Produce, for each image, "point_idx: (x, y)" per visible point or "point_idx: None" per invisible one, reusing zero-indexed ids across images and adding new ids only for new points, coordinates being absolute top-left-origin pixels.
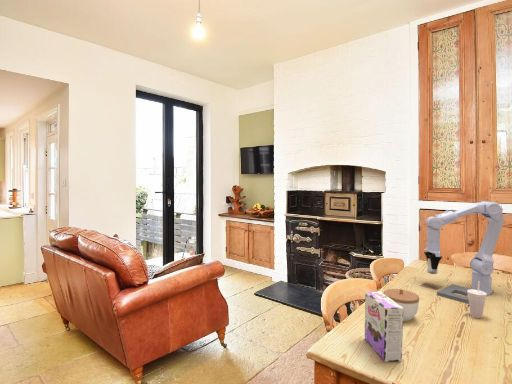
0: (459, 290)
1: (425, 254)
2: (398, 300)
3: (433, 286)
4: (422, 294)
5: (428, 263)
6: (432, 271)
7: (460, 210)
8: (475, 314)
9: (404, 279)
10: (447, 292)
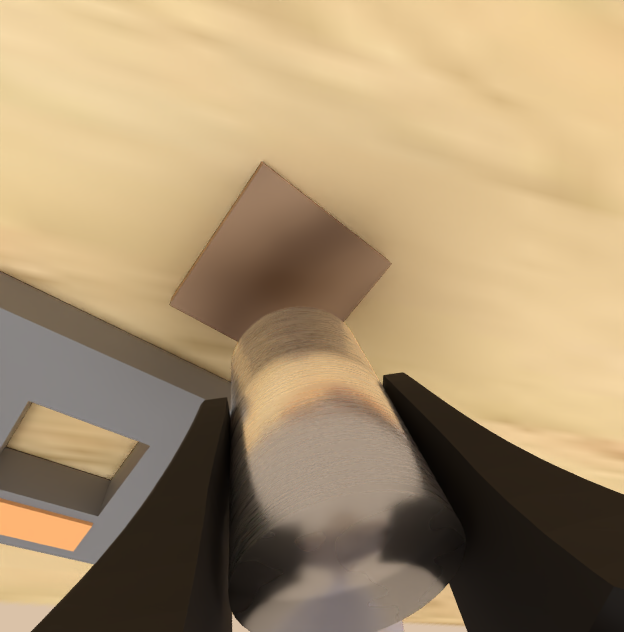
0: (146, 469)
1: (605, 533)
2: None
3: (280, 302)
4: (11, 137)
5: (287, 413)
6: (231, 379)
7: None
8: None
9: (524, 58)
10: (14, 381)
